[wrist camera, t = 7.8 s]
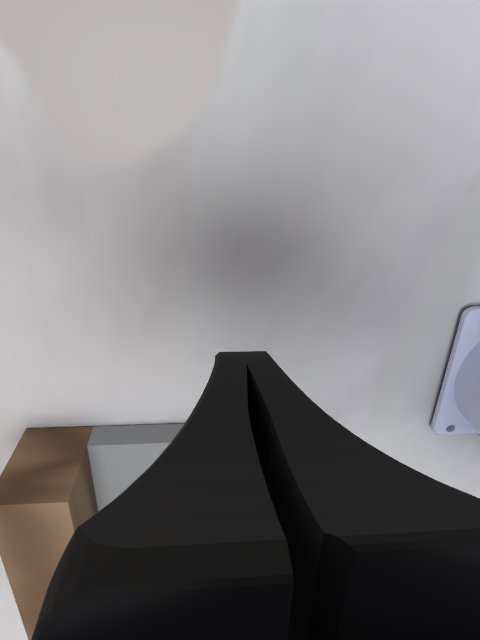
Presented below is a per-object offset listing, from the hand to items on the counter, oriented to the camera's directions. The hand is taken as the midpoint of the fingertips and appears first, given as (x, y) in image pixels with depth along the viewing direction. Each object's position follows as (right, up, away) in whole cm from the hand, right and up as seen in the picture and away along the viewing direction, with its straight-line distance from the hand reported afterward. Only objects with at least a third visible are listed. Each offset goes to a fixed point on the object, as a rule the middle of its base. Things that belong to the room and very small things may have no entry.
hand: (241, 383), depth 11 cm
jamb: (-10, -10, +15) cm, 21 cm away
